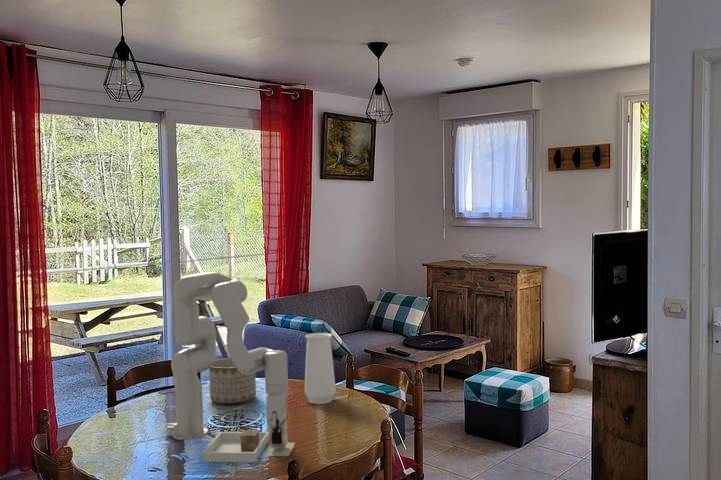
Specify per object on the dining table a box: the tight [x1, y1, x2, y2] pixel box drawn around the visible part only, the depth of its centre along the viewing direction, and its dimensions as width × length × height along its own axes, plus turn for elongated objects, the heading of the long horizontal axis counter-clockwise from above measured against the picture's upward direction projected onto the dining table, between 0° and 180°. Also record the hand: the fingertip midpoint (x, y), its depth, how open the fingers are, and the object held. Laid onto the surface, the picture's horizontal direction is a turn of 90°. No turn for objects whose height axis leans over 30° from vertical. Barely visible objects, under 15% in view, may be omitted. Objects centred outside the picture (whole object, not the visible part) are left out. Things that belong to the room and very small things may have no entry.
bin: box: [201, 431, 270, 463], centre depth 221 cm, size 18×20×4 cm
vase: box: [304, 332, 336, 405], centre depth 277 cm, size 13×13×28 cm
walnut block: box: [240, 429, 260, 452], centre depth 220 cm, size 5×5×6 cm
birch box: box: [268, 419, 289, 448], centre depth 221 cm, size 5×5×8 cm
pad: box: [261, 442, 296, 457], centre depth 221 cm, size 9×12×1 cm
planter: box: [208, 357, 257, 405], centre depth 281 cm, size 19×19×16 cm
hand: (278, 439), depth 221 cm, fingers closed on birch box, 5 cm apart
